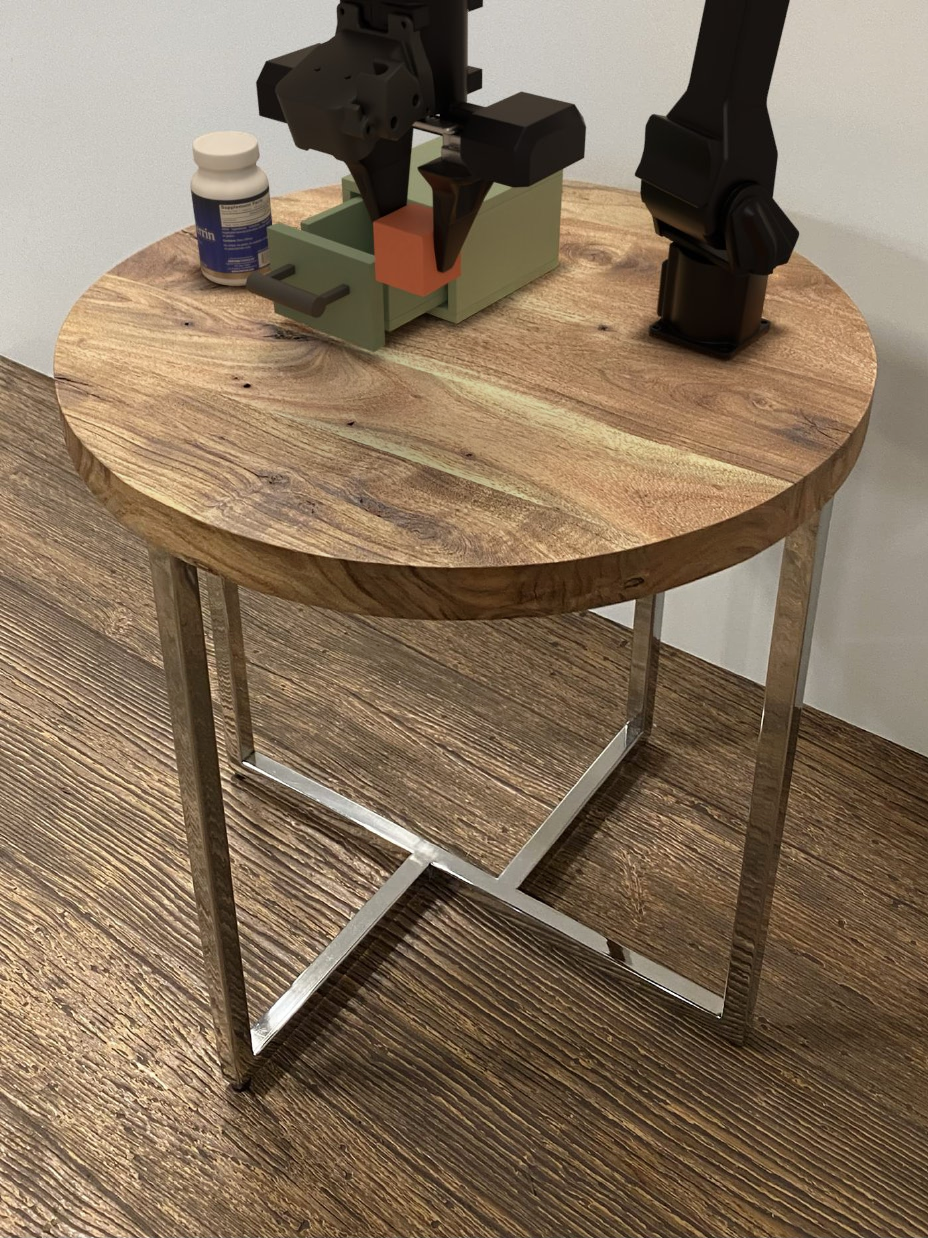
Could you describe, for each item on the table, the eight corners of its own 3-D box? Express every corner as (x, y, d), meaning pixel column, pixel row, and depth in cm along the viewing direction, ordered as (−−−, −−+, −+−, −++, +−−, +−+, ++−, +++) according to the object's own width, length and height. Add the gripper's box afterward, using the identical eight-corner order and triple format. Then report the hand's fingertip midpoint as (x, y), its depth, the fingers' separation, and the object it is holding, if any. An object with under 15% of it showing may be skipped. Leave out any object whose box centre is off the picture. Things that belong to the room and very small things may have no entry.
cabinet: (456, 324, 93) (456, 214, 88) (346, 283, 98) (341, 177, 93) (558, 266, 101) (563, 162, 96) (451, 231, 106) (451, 131, 101)
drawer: (334, 374, 86) (328, 284, 82) (234, 332, 90) (224, 245, 86) (478, 294, 95) (479, 210, 91) (381, 260, 100) (378, 178, 96)
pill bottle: (193, 263, 101) (176, 133, 95) (264, 252, 103) (252, 123, 96) (212, 293, 97) (196, 159, 91) (286, 281, 99) (275, 148, 92)
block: (461, 276, 77) (461, 216, 74) (423, 297, 74) (422, 237, 72) (413, 260, 78) (412, 201, 76) (375, 281, 76) (372, 221, 74)
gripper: (164, -28, 65) (204, 266, 75) (461, 37, 57) (461, 361, 66) (315, -68, 72) (333, 207, 82) (600, -15, 63) (582, 285, 73)
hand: (418, 261), depth 76 cm, fingers closed on block, 3 cm apart
